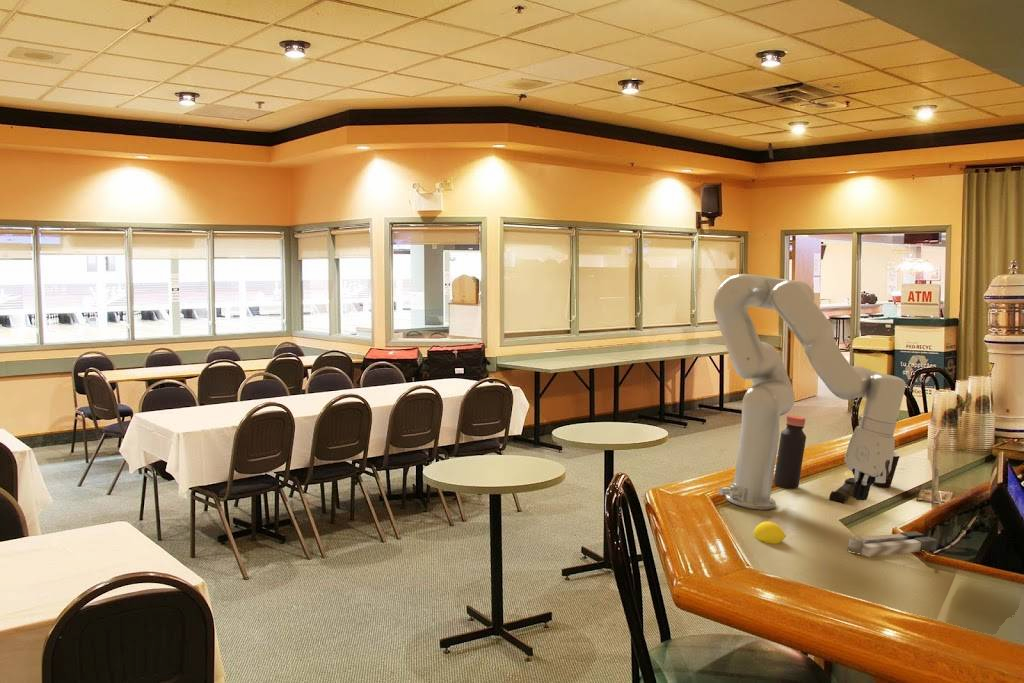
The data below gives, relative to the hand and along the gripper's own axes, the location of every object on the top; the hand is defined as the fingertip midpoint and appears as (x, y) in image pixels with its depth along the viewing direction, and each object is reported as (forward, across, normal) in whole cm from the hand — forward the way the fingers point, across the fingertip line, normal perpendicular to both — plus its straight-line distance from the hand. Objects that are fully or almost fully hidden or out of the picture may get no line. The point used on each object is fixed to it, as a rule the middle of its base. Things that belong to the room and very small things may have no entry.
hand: (859, 498), depth 196 cm
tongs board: (+8, +10, -3) cm, 13 cm away
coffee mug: (+9, -32, +44) cm, 55 cm away
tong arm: (+6, +13, -2) cm, 14 cm away
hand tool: (+9, -22, +20) cm, 31 cm away
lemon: (+9, +4, -30) cm, 31 cm away
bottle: (+10, -34, +11) cm, 37 cm away
